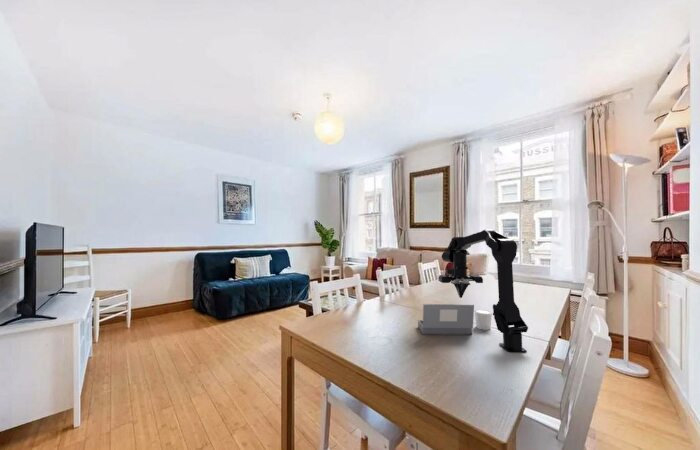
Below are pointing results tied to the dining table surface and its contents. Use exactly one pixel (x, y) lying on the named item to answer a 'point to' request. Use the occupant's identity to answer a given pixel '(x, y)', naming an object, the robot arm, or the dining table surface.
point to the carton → (443, 330)
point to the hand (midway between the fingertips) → (460, 297)
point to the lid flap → (448, 316)
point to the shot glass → (483, 319)
